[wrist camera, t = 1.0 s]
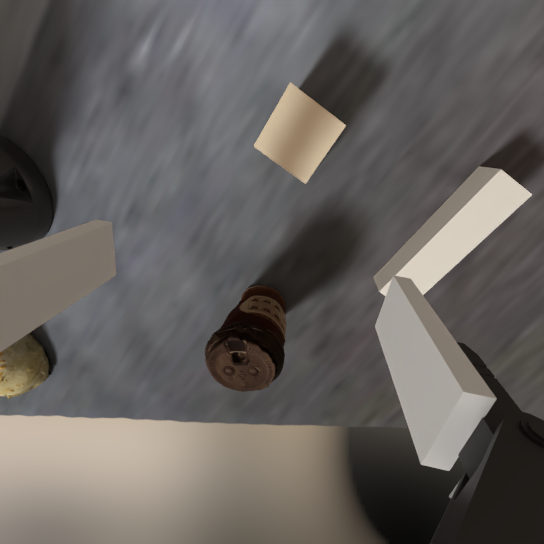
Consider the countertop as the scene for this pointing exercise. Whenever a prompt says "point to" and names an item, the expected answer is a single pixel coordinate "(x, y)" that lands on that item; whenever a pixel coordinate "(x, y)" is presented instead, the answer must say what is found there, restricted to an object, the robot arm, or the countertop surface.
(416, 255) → the white rectangular bar
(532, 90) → the countertop surface
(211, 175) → the countertop surface
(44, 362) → the pastry
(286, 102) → the block
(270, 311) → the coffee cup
